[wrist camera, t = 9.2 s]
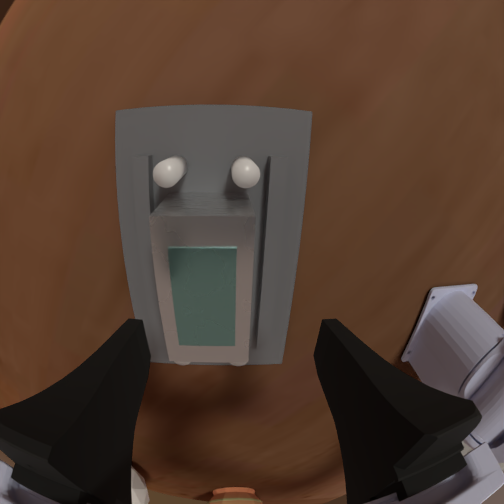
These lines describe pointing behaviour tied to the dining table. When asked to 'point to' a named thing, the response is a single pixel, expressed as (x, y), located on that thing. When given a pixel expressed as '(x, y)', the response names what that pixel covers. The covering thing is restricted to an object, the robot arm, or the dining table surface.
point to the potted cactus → (234, 496)
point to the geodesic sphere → (138, 488)
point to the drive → (204, 274)
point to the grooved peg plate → (216, 180)
